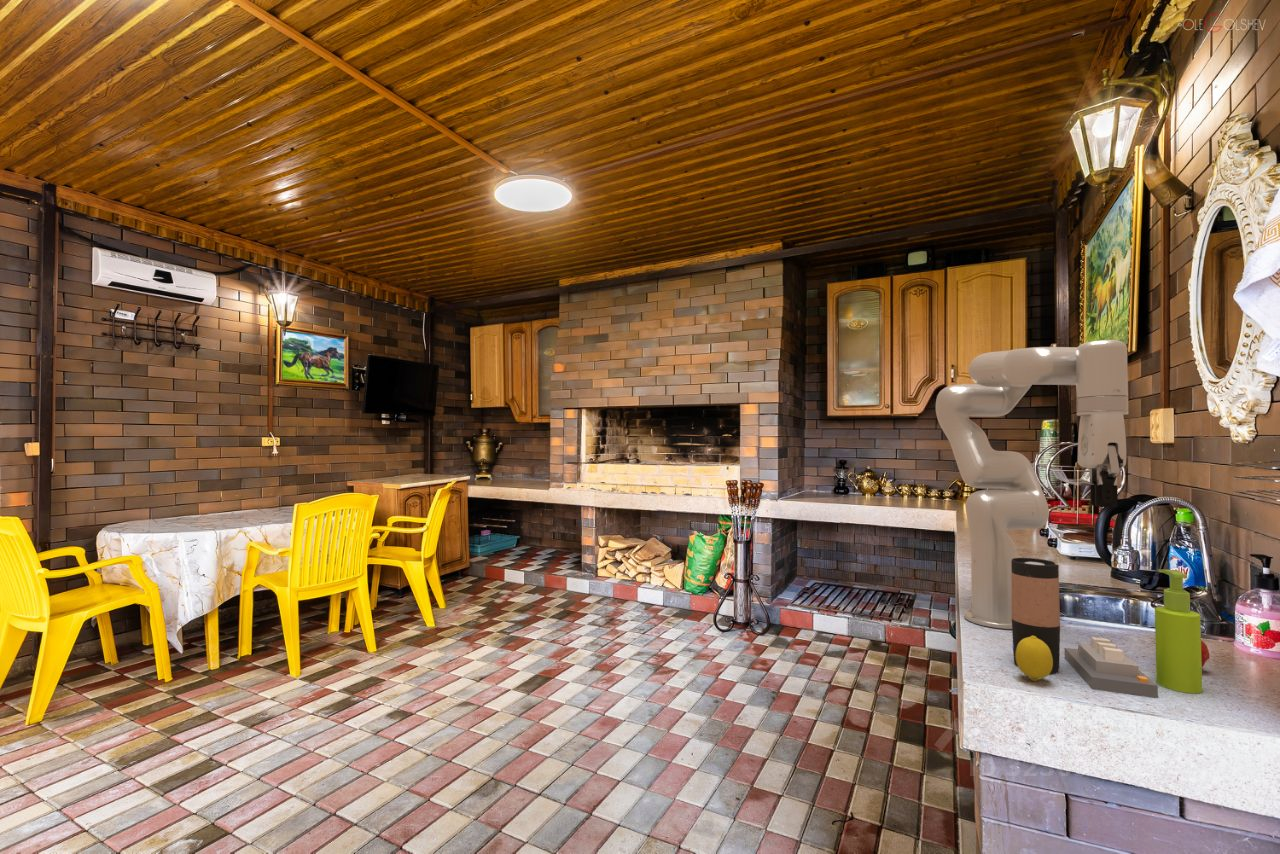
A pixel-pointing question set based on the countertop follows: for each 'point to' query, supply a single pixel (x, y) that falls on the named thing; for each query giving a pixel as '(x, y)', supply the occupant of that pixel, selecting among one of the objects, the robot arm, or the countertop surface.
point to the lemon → (1034, 658)
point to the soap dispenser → (1178, 639)
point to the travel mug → (1036, 604)
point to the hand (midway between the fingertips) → (1103, 505)
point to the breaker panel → (1110, 679)
